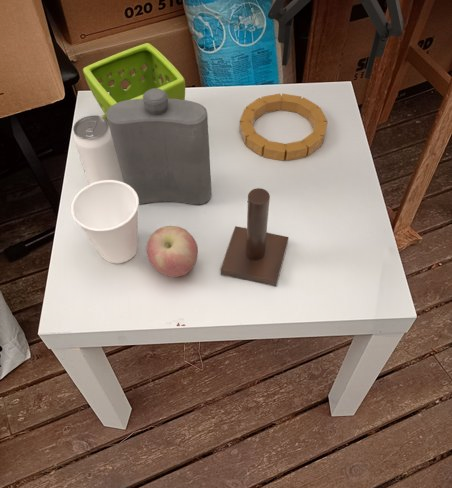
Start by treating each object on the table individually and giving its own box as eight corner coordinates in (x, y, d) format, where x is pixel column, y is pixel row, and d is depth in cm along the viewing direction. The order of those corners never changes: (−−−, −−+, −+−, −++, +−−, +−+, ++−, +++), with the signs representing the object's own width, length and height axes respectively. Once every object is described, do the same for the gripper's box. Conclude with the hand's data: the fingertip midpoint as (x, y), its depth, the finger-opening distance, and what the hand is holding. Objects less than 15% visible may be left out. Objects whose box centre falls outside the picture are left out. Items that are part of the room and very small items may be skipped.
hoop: (330, 110, 100) (332, 101, 98) (316, 167, 92) (318, 158, 90) (251, 97, 102) (252, 88, 100) (231, 151, 94) (231, 142, 92)
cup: (134, 281, 79) (121, 238, 70) (78, 265, 81) (58, 220, 72) (158, 234, 84) (149, 188, 75) (105, 220, 86) (89, 173, 76)
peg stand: (287, 242, 83) (297, 179, 71) (276, 286, 78) (284, 227, 66) (235, 231, 84) (235, 167, 72) (220, 274, 80) (218, 213, 67)
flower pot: (158, 99, 102) (149, 39, 92) (193, 138, 96) (188, 79, 85) (96, 124, 99) (79, 65, 88) (127, 167, 92) (113, 109, 82)
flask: (212, 181, 90) (207, 82, 73) (211, 206, 87) (205, 108, 70) (129, 180, 91) (105, 82, 74) (125, 204, 88) (99, 108, 71)
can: (85, 193, 89) (66, 140, 79) (92, 167, 92) (74, 113, 82) (122, 194, 89) (107, 140, 79) (127, 168, 92) (113, 113, 82)
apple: (140, 268, 81) (132, 237, 74) (174, 240, 83) (169, 207, 77) (176, 296, 78) (170, 266, 71) (209, 265, 81) (207, 234, 74)
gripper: (252, -82, 64) (247, 69, 83) (451, -59, 61) (401, 92, 79) (264, -107, 68) (257, 42, 86) (453, -87, 65) (404, 64, 83)
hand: (326, 67), depth 83 cm, fingers open, 13 cm apart
